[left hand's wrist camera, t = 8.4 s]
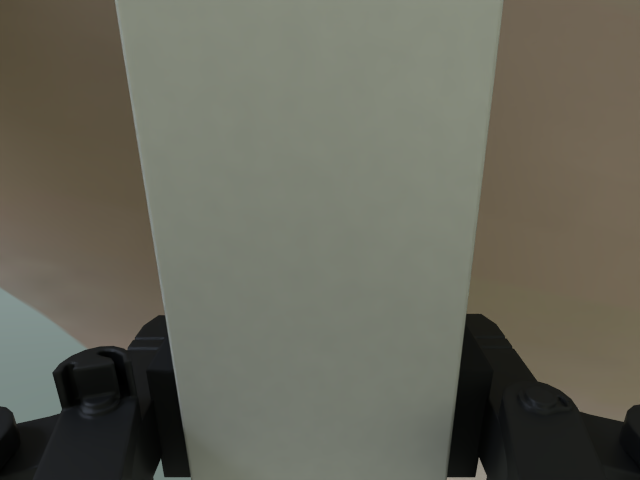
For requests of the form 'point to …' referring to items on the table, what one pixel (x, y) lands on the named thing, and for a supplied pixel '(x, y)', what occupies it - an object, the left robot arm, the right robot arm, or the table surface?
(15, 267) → the table surface
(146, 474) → the left robot arm
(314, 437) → the beam
